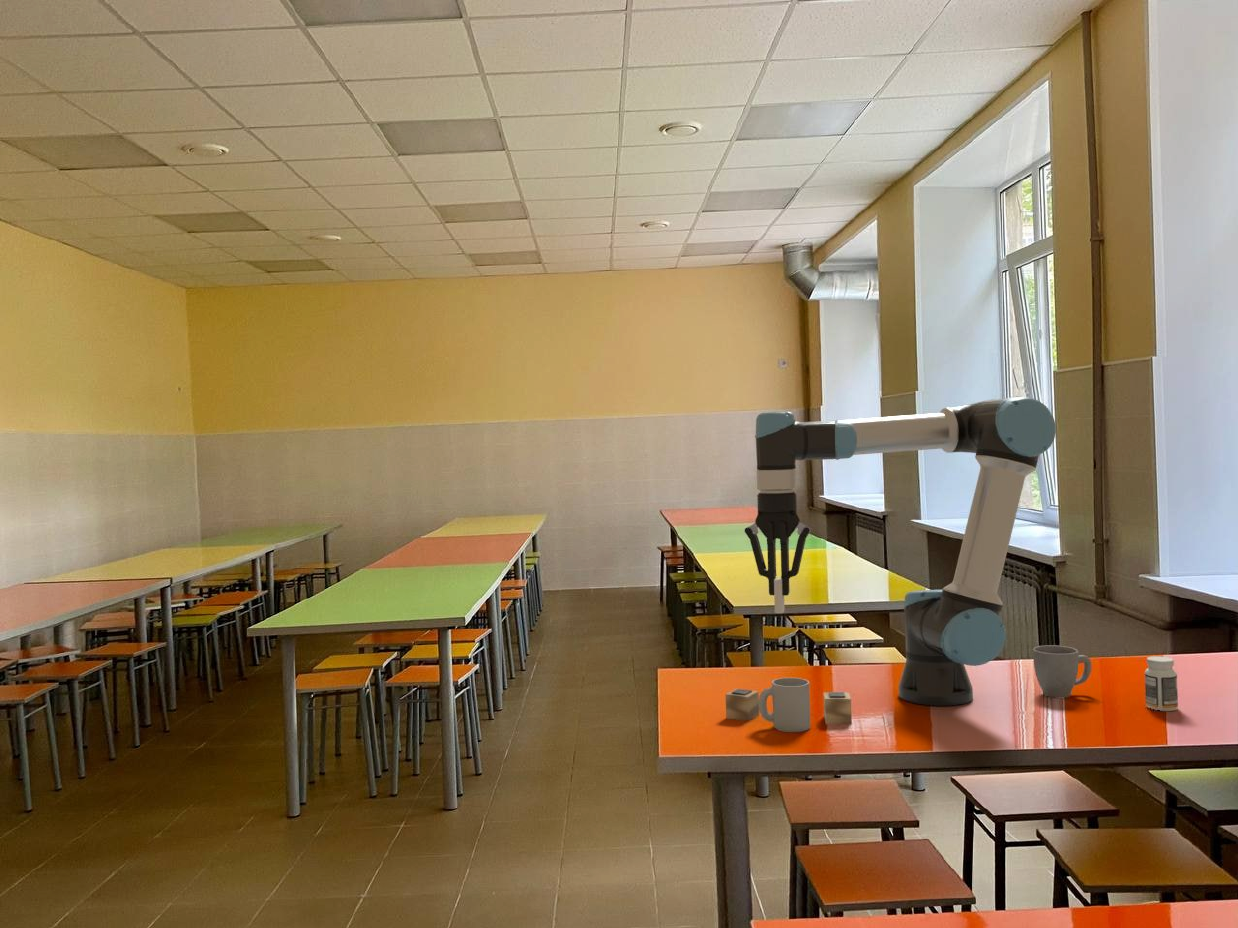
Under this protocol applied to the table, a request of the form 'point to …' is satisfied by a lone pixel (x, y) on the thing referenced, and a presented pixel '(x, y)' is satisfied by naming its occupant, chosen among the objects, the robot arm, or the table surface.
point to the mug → (1059, 669)
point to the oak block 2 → (837, 708)
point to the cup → (787, 704)
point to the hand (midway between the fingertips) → (779, 612)
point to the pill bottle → (1161, 684)
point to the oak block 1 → (742, 704)
